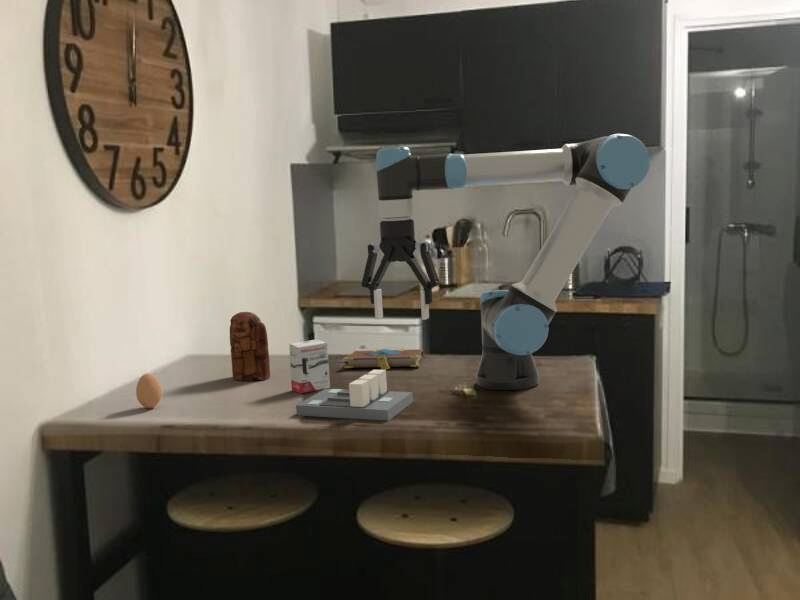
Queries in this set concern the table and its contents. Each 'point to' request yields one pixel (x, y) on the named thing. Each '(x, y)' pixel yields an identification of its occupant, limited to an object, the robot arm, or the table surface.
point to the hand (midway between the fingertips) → (402, 318)
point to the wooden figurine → (249, 348)
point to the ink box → (309, 366)
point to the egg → (148, 391)
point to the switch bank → (339, 406)
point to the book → (384, 358)
